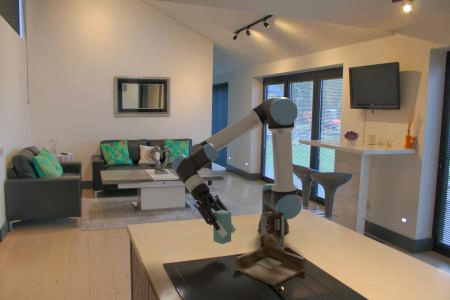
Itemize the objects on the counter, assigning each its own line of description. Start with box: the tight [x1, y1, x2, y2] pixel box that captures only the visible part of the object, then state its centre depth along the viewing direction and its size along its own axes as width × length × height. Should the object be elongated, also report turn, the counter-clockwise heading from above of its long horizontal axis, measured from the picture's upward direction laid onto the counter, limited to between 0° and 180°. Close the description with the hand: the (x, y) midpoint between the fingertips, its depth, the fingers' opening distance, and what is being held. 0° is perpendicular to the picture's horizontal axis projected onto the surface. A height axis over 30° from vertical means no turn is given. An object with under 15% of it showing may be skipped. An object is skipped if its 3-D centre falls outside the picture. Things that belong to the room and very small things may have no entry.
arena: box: [235, 245, 306, 286], centre depth 142 cm, size 18×18×5 cm
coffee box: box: [260, 211, 285, 251], centre depth 161 cm, size 9×6×16 cm
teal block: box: [212, 210, 232, 245], centre depth 153 cm, size 5×5×12 cm
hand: (229, 233), depth 151 cm, fingers closed on teal block, 6 cm apart
